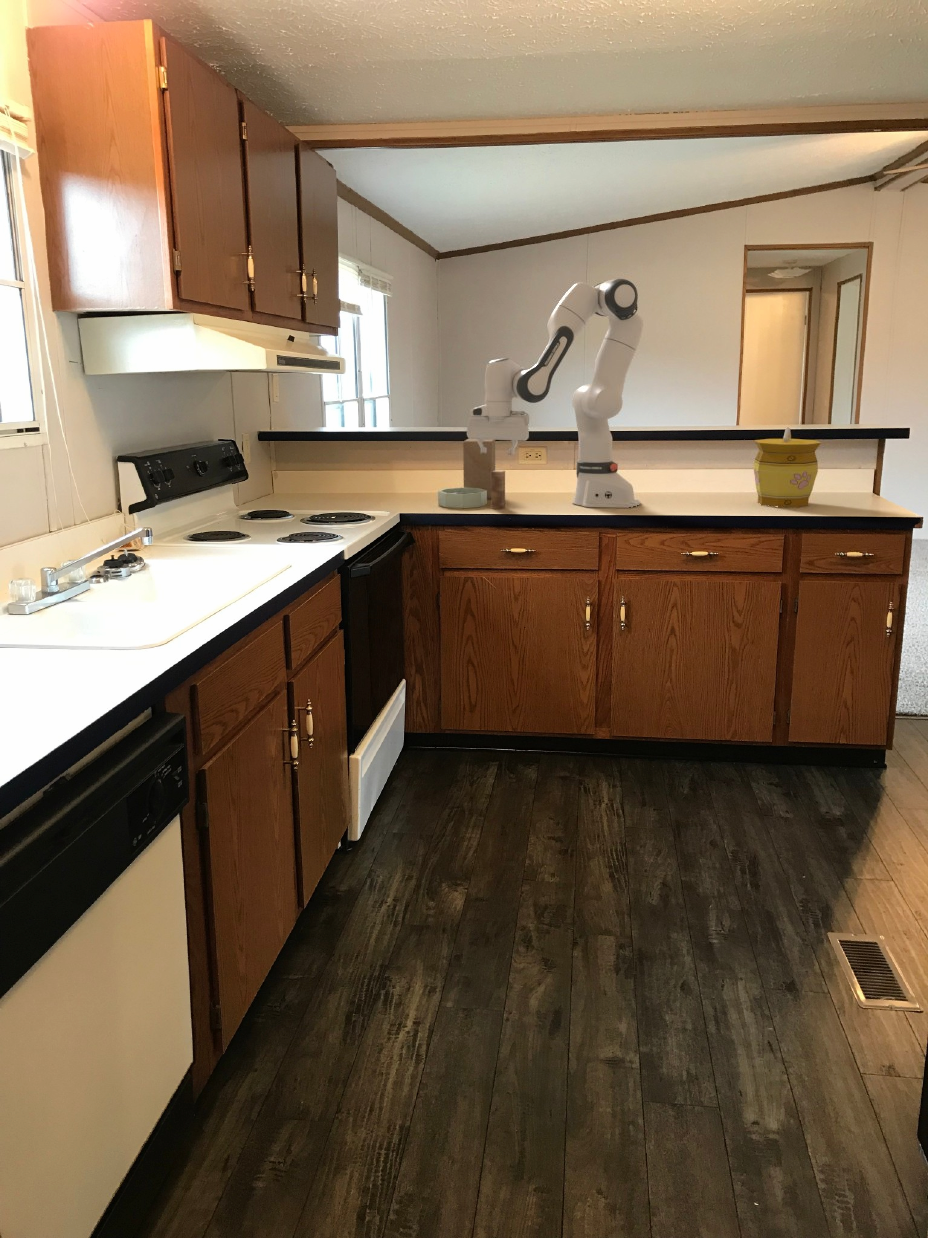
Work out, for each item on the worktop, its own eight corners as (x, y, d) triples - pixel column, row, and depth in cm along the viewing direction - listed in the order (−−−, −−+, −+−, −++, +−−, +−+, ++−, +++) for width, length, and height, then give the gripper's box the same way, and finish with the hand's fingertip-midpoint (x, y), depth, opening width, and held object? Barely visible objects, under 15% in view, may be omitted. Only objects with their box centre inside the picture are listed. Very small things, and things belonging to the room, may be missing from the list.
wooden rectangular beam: (505, 507, 327) (505, 470, 324) (501, 508, 324) (501, 472, 321) (494, 506, 328) (494, 470, 325) (491, 508, 325) (491, 471, 322)
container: (743, 506, 324) (748, 428, 317) (756, 497, 342) (762, 424, 335) (810, 510, 314) (817, 430, 308) (820, 501, 332) (827, 425, 326)
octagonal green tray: (490, 501, 339) (490, 488, 337) (476, 508, 325) (476, 494, 324) (449, 500, 344) (449, 486, 342) (433, 506, 330) (433, 492, 329)
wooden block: (491, 499, 345) (491, 441, 340) (463, 498, 347) (462, 441, 341) (495, 495, 355) (495, 438, 349) (467, 494, 356) (467, 438, 351)
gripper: (532, 410, 317) (530, 454, 321) (471, 408, 324) (471, 451, 327) (526, 411, 311) (525, 456, 315) (465, 409, 318) (464, 453, 322)
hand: (497, 453), depth 321 cm, fingers open, 8 cm apart
